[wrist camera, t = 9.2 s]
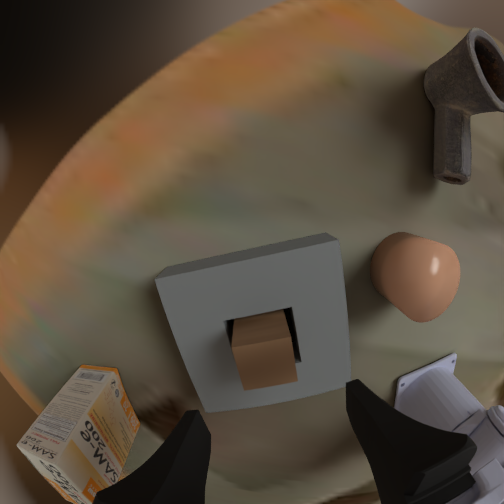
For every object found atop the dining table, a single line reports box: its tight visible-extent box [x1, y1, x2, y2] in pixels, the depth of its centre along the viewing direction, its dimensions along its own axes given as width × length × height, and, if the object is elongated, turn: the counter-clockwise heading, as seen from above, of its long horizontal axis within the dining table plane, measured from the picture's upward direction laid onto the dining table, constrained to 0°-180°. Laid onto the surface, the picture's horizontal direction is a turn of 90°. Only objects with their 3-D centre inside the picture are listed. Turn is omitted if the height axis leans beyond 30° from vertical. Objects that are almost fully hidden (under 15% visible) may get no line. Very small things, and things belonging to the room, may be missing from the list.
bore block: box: [155, 233, 351, 413], centre depth 20 cm, size 12×12×3 cm
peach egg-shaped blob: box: [370, 232, 460, 322], centre depth 18 cm, size 6×6×5 cm
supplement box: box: [17, 365, 140, 504], centre depth 17 cm, size 8×5×13 cm, turn 5°
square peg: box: [231, 309, 298, 391], centre depth 18 cm, size 3×3×6 cm
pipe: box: [424, 28, 504, 185], centre depth 14 cm, size 6×13×8 cm, turn 171°
